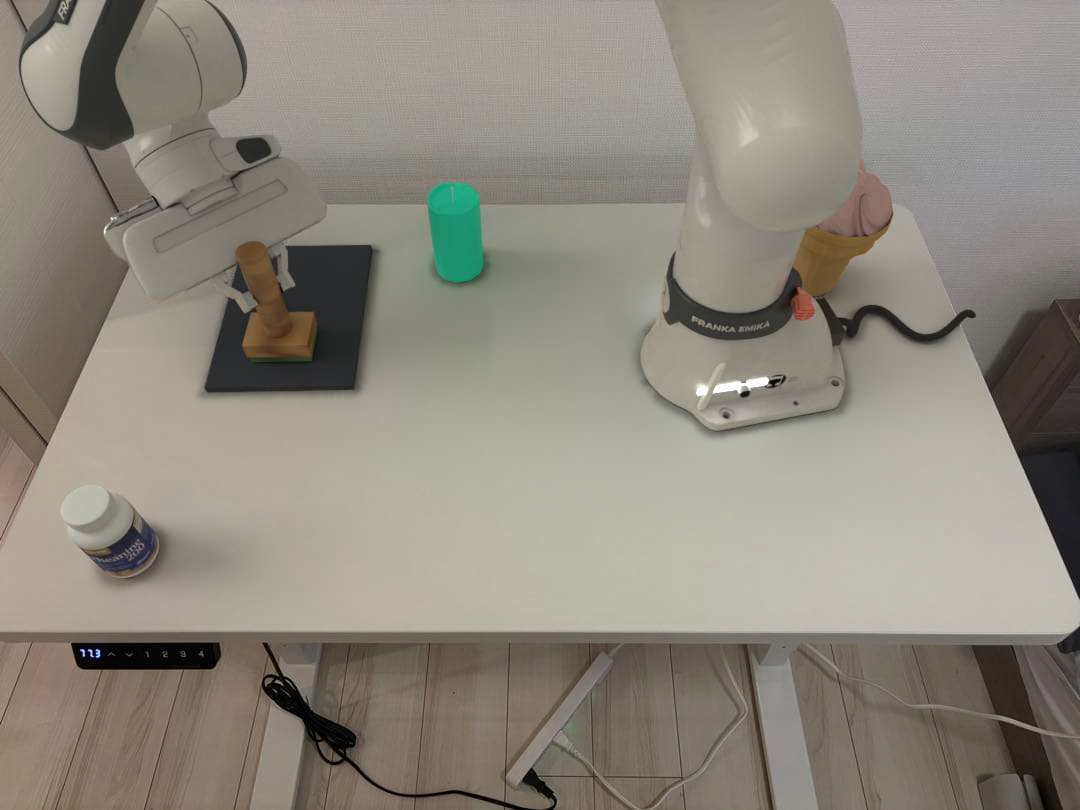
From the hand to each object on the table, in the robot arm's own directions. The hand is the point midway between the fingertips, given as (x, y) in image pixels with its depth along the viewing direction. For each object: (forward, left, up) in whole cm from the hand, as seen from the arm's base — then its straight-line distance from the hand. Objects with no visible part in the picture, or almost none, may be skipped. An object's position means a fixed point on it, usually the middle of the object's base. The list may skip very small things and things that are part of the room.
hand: (270, 299), depth 83 cm
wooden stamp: (0, 0, -8) cm, 8 cm away
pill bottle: (+11, +25, -9) cm, 28 cm away
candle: (-19, -13, -9) cm, 25 cm away
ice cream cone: (-62, -9, -9) cm, 63 cm away
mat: (0, -5, -9) cm, 10 cm away
